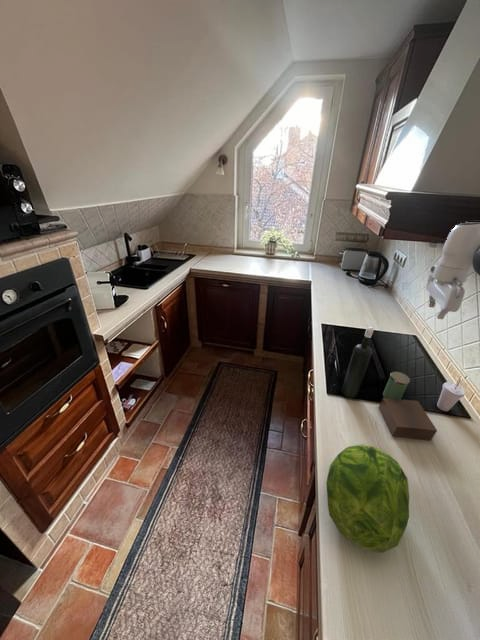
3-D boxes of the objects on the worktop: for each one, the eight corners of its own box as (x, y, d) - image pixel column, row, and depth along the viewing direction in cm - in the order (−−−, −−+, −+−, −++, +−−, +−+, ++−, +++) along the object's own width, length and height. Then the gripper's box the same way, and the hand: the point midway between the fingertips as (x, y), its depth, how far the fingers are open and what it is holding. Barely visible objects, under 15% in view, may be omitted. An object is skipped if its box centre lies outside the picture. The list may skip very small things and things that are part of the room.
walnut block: (412, 410, 92) (417, 400, 89) (430, 440, 82) (437, 430, 79) (378, 407, 93) (382, 397, 90) (392, 436, 82) (397, 426, 80)
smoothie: (432, 408, 93) (448, 380, 86) (432, 398, 97) (448, 370, 90) (453, 417, 90) (472, 388, 83) (453, 405, 94) (471, 377, 87)
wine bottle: (345, 385, 102) (365, 321, 87) (359, 393, 99) (383, 328, 83) (338, 392, 99) (358, 327, 84) (352, 400, 95) (375, 334, 80)
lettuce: (424, 467, 66) (372, 410, 68) (441, 564, 46) (367, 479, 49) (365, 486, 75) (321, 435, 78) (358, 572, 56) (300, 501, 58)
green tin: (396, 391, 100) (405, 372, 95) (403, 403, 94) (413, 384, 89) (380, 390, 100) (388, 370, 95) (386, 402, 95) (395, 382, 90)
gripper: (477, 286, 72) (457, 327, 79) (450, 266, 89) (435, 302, 96) (451, 283, 74) (433, 324, 81) (429, 264, 91) (416, 299, 98)
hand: (434, 312), depth 89 cm, fingers open, 8 cm apart
